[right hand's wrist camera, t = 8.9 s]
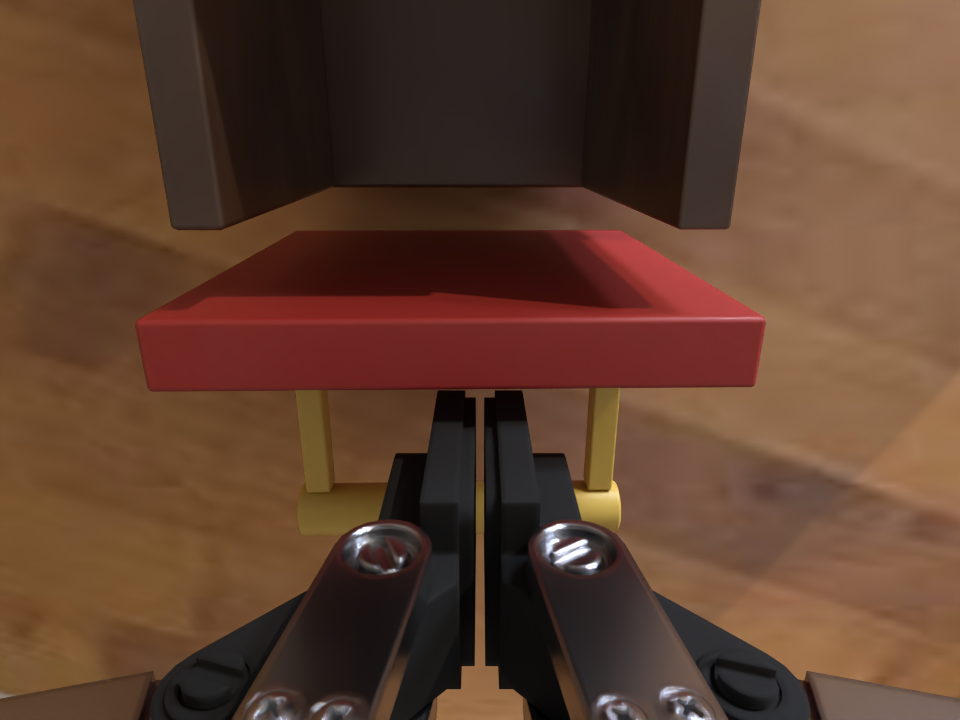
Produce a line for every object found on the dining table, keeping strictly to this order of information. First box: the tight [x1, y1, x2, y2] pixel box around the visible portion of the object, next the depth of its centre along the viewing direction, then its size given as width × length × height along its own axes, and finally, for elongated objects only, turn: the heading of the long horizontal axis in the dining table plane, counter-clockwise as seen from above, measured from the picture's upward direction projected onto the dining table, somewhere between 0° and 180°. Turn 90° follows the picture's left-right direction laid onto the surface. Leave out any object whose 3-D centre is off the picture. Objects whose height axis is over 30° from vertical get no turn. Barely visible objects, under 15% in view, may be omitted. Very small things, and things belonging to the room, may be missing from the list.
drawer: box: [133, 0, 766, 536], centre depth 12 cm, size 24×10×9 cm, turn 0°
